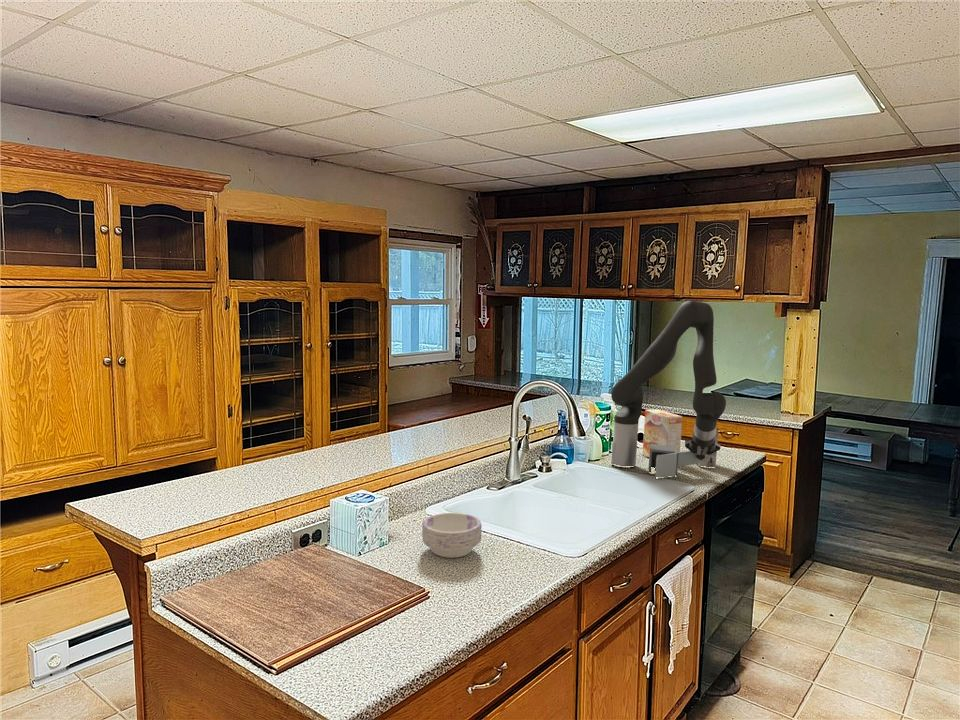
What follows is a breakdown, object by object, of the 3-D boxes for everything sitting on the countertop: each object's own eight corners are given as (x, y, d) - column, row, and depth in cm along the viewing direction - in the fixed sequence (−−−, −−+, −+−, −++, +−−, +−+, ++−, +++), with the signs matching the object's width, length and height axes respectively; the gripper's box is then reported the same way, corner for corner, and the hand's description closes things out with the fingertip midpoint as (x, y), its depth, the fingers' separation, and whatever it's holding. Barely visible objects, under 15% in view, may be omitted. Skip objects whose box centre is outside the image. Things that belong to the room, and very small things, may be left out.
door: (656, 479, 242) (658, 454, 241) (654, 479, 243) (656, 454, 242) (698, 474, 252) (700, 450, 251) (696, 473, 252) (698, 449, 251)
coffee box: (693, 461, 270) (695, 423, 268) (708, 462, 270) (711, 423, 268) (699, 468, 261) (703, 427, 259) (716, 468, 261) (719, 428, 259)
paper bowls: (414, 543, 177) (415, 514, 176) (469, 537, 182) (470, 509, 181) (431, 566, 163) (432, 535, 162) (489, 559, 168) (490, 529, 167)
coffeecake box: (641, 455, 277) (644, 409, 275) (655, 454, 280) (658, 408, 278) (665, 465, 264) (669, 416, 261) (679, 463, 267) (683, 415, 264)
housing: (648, 474, 250) (649, 449, 249) (648, 467, 259) (650, 443, 258) (673, 476, 248) (675, 451, 247) (672, 470, 257) (674, 446, 256)
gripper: (724, 424, 238) (718, 451, 251) (685, 421, 241) (682, 447, 254) (724, 441, 233) (719, 468, 246) (685, 438, 237) (681, 464, 249)
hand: (700, 457), depth 250 cm, fingers closed
